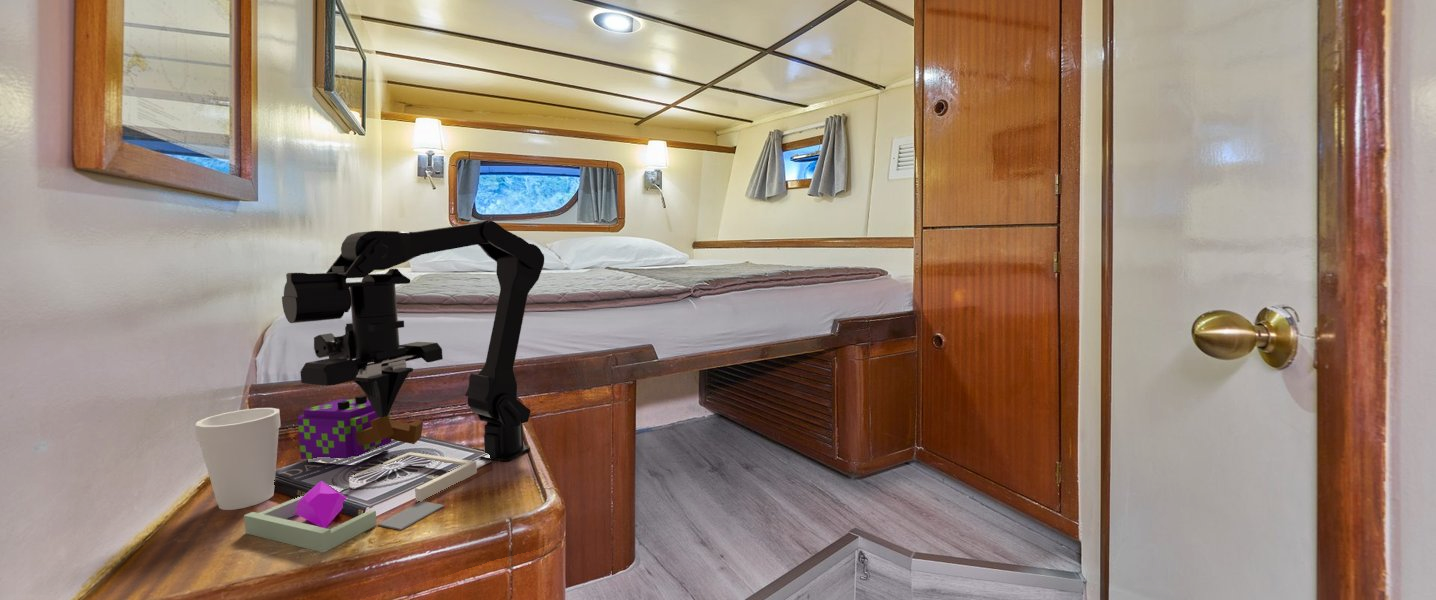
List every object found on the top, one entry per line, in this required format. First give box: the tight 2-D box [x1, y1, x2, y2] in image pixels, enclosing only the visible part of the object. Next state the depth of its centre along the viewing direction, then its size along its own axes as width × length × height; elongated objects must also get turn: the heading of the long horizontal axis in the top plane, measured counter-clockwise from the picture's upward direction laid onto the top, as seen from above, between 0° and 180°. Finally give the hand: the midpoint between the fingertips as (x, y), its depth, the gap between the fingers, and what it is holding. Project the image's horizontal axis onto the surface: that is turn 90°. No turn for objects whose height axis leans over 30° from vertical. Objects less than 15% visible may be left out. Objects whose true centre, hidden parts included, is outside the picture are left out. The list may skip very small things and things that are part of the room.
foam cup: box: [195, 407, 282, 511], centre depth 79 cm, size 10×9×13 cm
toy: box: [297, 395, 424, 460], centre depth 96 cm, size 10×11×20 cm
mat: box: [377, 500, 445, 531], centre depth 74 cm, size 7×4×1 cm, turn 161°
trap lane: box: [243, 451, 478, 553], centre depth 79 cm, size 25×15×2 cm, turn 161°
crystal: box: [295, 480, 348, 528], centre depth 73 cm, size 5×5×5 cm
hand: (382, 416), depth 80 cm, fingers closed
